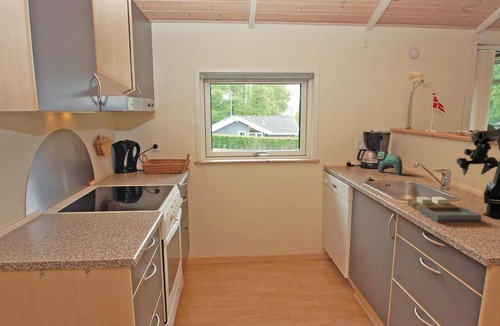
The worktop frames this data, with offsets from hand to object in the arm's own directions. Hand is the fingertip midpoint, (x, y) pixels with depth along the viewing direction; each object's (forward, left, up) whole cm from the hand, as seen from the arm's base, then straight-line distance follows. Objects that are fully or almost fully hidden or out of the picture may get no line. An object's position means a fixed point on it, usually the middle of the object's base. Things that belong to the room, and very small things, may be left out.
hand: (472, 174), depth 178 cm
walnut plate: (-17, +33, -15) cm, 40 cm away
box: (-31, +33, -15) cm, 47 cm away
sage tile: (-16, +37, -12) cm, 42 cm away
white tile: (-16, +29, -12) cm, 35 cm away
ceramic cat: (+77, +11, -15) cm, 79 cm away
